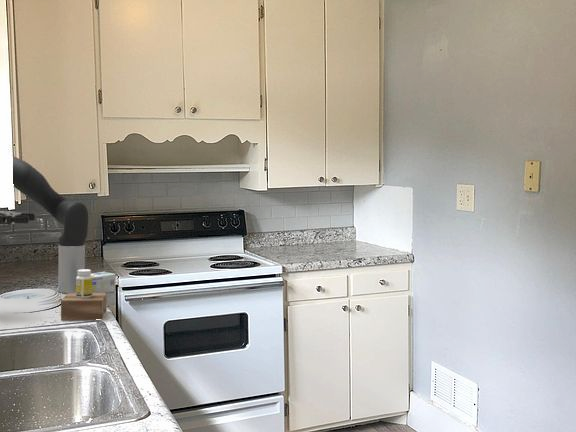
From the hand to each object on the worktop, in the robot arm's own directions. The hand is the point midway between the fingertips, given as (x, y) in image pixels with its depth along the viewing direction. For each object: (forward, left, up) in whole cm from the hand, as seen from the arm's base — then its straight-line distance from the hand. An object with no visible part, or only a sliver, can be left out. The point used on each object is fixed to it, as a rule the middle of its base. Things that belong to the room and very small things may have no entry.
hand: (31, 218), depth 201 cm
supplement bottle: (+2, +16, -24) cm, 29 cm away
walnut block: (+1, +16, -30) cm, 34 cm away
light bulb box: (-13, +18, -31) cm, 38 cm away
